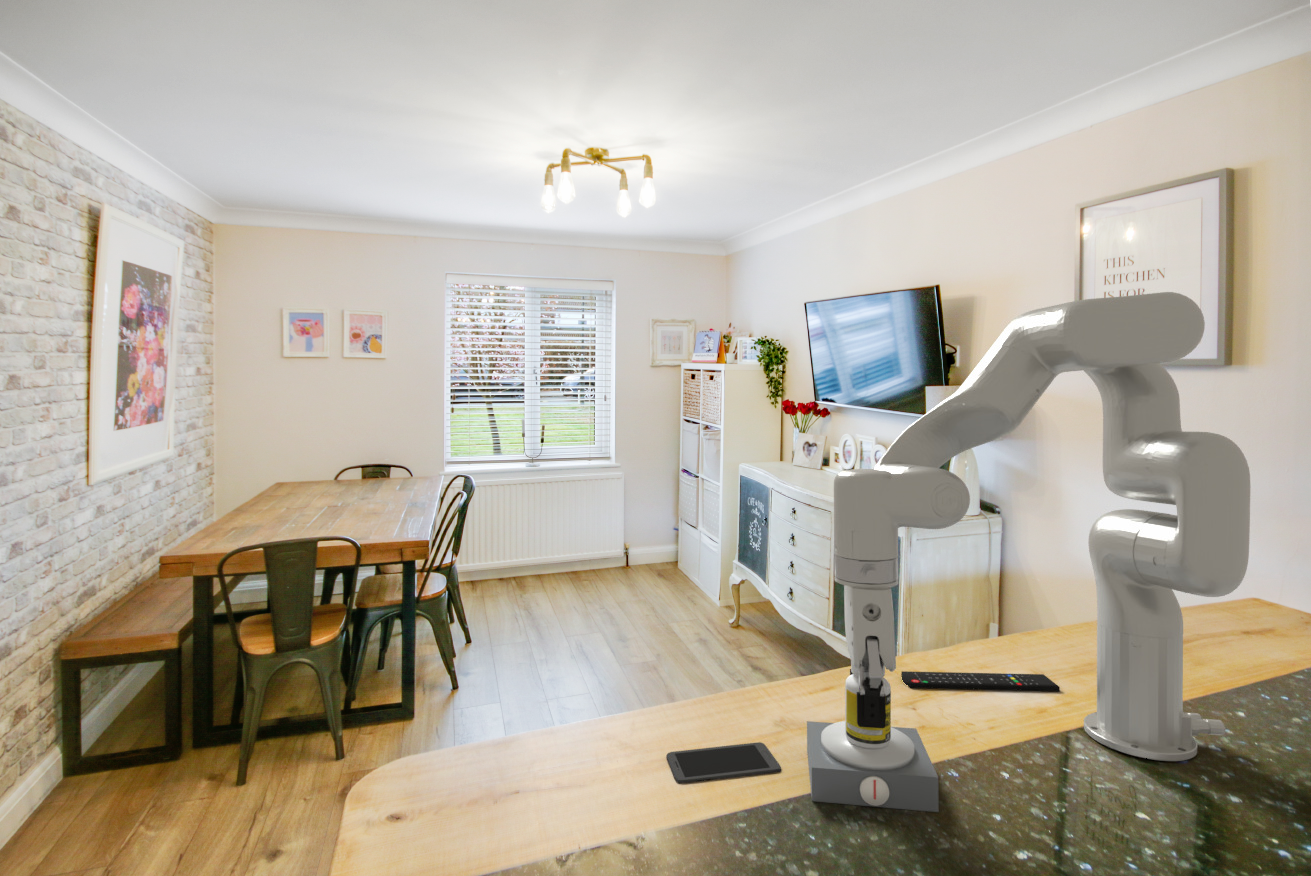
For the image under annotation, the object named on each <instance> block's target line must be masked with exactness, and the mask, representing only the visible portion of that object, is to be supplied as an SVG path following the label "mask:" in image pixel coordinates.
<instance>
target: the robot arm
mask: <svg viewBox="0 0 1311 876" xmlns="http://www.w3.org/2000/svg"><path fill="white" fill-rule="evenodd" d="M1205 323H1206V322H1205V317H1204V314H1203V311H1202V309H1201V308H1200V306H1199V305H1198V304H1197V303H1196V302H1195V301H1194V300H1193V299H1192V298H1190V297H1188V296H1187V295H1184V294H1182V293H1179V292H1173V291H1162V292H1153V293H1144V294H1143V293H1142V294H1134V295H1133V294H1132V295H1122V296H1113V297H1112V296H1111V297H1101V298H1100V297H1099V298H1098V297H1097V298H1086V299H1080V300H1075V301H1069V302H1065V303H1060V304H1054V305H1051V306H1047V307H1041V308H1037V309H1033V310H1028V311H1026V312H1024V313H1022V314H1020V315H1018V316H1017V317H1015V318H1014V319H1012V320H1011V322H1009V323H1008V325H1007V326H1006V327H1005V328H1004V329H1003V330H1002V332H1001V333H1000V335H999V336H998V337H997V339H995V341H994V342H993V344H991V346H990V348H988V350H987V351H986V352H985V354H984V355H983V357H982V358H981V359H980V361H978V362H977V364H976V366H975V367H974V368H973V370H972V371H971V372H970V373H969V375H967V377H966V379H964V381H963V382H962V383H961V385H960V386H959V387H958V389H956V390H955V392H953V393H952V394H951V395H950V396H948V397H947V398H945V399H944V400H942V401H941V402H940V403H938V404H936V405H935V406H934V407H933V408H931V409H930V410H929V411H928V412H926V413H925V414H924V415H922V416H921V417H920V418H918V419H917V420H916V421H914V422H913V423H912V424H910V425H909V426H908V427H907V428H906V429H905V430H903V431H902V432H901V434H900V435H898V436H897V438H896V439H894V441H892V443H891V444H890V445H889V447H888V448H887V449H886V451H885V452H884V454H883V455H882V456H881V457H880V458H879V460H878V462H877V463H876V464H875V465H874V467H873V469H872V468H854V469H844V470H841V471H839V472H838V473H837V474H836V475H835V478H834V480H833V533H834V534H833V540H834V541H833V544H834V546H833V547H834V549H833V552H834V553H833V554H834V559H833V562H834V563H833V564H834V567H833V569H834V570H833V571H834V573H833V574H834V582H835V583H838V584H840V585H841V586H843V588H844V589H843V598H844V599H843V600H844V607H843V608H844V611H843V612H844V630H845V631H844V632H845V640H846V647H847V651H848V655H849V659H850V662H851V661H852V664H853V666H854V667H855V668H856V669H857V670H858V677H859V692H857V724H858V726H859V727H869V728H885V726H886V697H885V691H884V678H885V675H884V676H883V663H884V665H885V670H888V671H889V672H894V671H895V670H896V668H897V663H896V662H897V660H896V657H897V656H896V642H895V641H896V637H895V635H896V634H895V619H894V616H895V615H894V606H893V603H894V601H893V595H892V594H893V593H892V589H891V588H894V587H896V586H898V585H899V528H903V527H904V528H916V529H925V530H942V529H947V528H949V527H952V526H954V525H956V524H957V523H959V522H960V521H961V520H963V518H964V517H965V516H966V515H967V513H968V510H969V508H970V503H971V495H970V491H969V489H968V486H967V485H966V483H965V481H963V479H962V478H960V477H959V476H958V475H956V474H955V473H953V472H951V471H949V470H947V469H944V468H941V467H942V466H943V465H945V464H946V463H947V462H948V461H950V460H951V459H953V458H955V457H956V456H958V455H960V454H961V453H964V452H966V451H969V450H970V449H974V448H975V447H979V446H982V445H985V444H988V443H991V442H994V441H996V440H997V439H1000V438H1003V437H1004V436H1007V435H1009V434H1010V433H1012V432H1014V431H1015V430H1017V428H1018V427H1019V426H1020V425H1021V424H1022V422H1023V421H1024V420H1025V418H1026V417H1027V416H1028V414H1029V413H1030V411H1031V410H1032V409H1033V407H1034V406H1035V404H1037V402H1038V400H1039V399H1041V397H1042V395H1044V393H1045V392H1046V390H1047V389H1048V387H1049V386H1050V385H1051V384H1052V382H1053V381H1054V380H1055V378H1056V377H1057V376H1058V375H1060V374H1063V373H1069V372H1078V371H1079V372H1080V371H1083V372H1084V373H1085V374H1087V376H1088V377H1089V379H1091V380H1092V381H1093V383H1094V385H1095V386H1096V387H1097V390H1098V392H1099V394H1100V399H1101V403H1102V475H1103V480H1104V484H1105V486H1106V487H1107V489H1108V490H1109V491H1110V492H1111V493H1112V494H1114V495H1116V496H1119V497H1121V498H1124V499H1128V500H1134V501H1141V502H1149V503H1155V504H1157V503H1158V504H1164V505H1170V506H1171V505H1172V506H1176V507H1175V508H1176V514H1177V515H1176V514H1170V513H1164V512H1157V511H1149V510H1144V509H1132V508H1131V509H1130V508H1124V509H1116V510H1112V511H1109V512H1106V513H1104V514H1102V515H1101V516H1100V517H1099V518H1098V519H1096V520H1095V522H1094V523H1093V524H1092V526H1091V528H1090V531H1089V534H1088V551H1089V552H1088V553H1089V556H1090V561H1091V566H1092V569H1093V573H1094V580H1095V587H1096V611H1097V612H1096V613H1097V614H1096V615H1097V617H1096V712H1092V713H1089V714H1087V715H1086V716H1085V717H1084V718H1083V729H1084V731H1085V732H1086V734H1087V735H1088V736H1089V737H1091V738H1092V739H1093V740H1095V741H1096V742H1098V743H1100V744H1101V745H1103V746H1106V747H1107V748H1110V749H1112V750H1115V751H1117V752H1120V753H1122V754H1127V755H1130V756H1133V757H1138V758H1141V759H1142V758H1143V759H1146V758H1147V759H1148V760H1154V761H1160V762H1161V761H1162V762H1182V761H1186V760H1191V759H1193V758H1194V757H1196V756H1197V754H1198V741H1196V739H1195V738H1194V737H1197V736H1198V735H1199V734H1206V735H1212V736H1224V735H1225V734H1226V727H1225V723H1224V722H1223V721H1222V720H1221V719H1213V718H1212V719H1210V718H1203V719H1202V716H1201V714H1200V713H1198V712H1196V713H1195V712H1185V711H1184V710H1183V709H1184V708H1183V707H1184V706H1183V705H1184V704H1183V701H1184V698H1183V697H1184V695H1183V693H1184V691H1183V689H1184V686H1183V683H1184V680H1183V679H1184V677H1183V676H1184V618H1183V617H1184V616H1183V612H1182V608H1181V606H1180V603H1179V600H1178V599H1177V596H1176V594H1175V592H1174V591H1177V592H1181V593H1185V594H1190V595H1195V596H1200V597H1205V598H1219V597H1225V596H1227V595H1230V594H1231V593H1233V592H1234V591H1235V590H1236V589H1238V587H1240V585H1241V584H1242V582H1243V581H1244V578H1245V576H1246V574H1247V569H1248V565H1249V559H1250V558H1249V557H1250V554H1249V553H1250V534H1251V533H1250V532H1251V531H1250V525H1251V522H1250V521H1251V474H1250V472H1251V471H1250V467H1249V464H1248V460H1247V458H1246V457H1245V454H1244V453H1243V451H1242V449H1241V448H1240V447H1239V445H1237V444H1236V443H1235V442H1234V441H1233V440H1231V439H1230V438H1228V437H1227V436H1224V435H1221V434H1218V433H1214V432H1210V431H1209V432H1207V431H1183V430H1182V422H1181V419H1182V418H1181V403H1180V394H1179V390H1178V387H1177V384H1176V382H1175V380H1174V378H1173V376H1172V375H1171V374H1170V373H1169V371H1168V370H1167V369H1166V368H1165V367H1164V366H1163V365H1162V364H1161V363H1172V362H1175V361H1179V360H1180V359H1183V358H1185V357H1187V356H1188V355H1189V354H1191V353H1192V352H1193V351H1194V350H1195V349H1196V348H1197V347H1198V345H1199V344H1200V342H1201V340H1202V339H1203V336H1204V332H1205V326H1206V325H1205ZM882 661H883V662H882ZM862 662H868V667H863V666H862ZM864 673H868V677H866V678H865V680H864ZM852 674H853V673H852V672H851V668H850V669H849V676H850V675H852Z"/></svg>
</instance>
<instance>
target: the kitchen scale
mask: <svg viewBox="0 0 1311 876" xmlns="http://www.w3.org/2000/svg"><path fill="white" fill-rule="evenodd" d="M806 752H807V754H806V755H807V764H808V775H809V783H810V785H809V786H810V793H811V794H810V795H811V801H812V802H816V803H817V802H818V803H827V804H829V803H830V804H841V805H842V804H843V805H851V806H852V805H853V806H862V807H873V808H874V807H876V808H886V809H897V810H910V811H920V812H921V811H922V812H929V813H930V812H931V813H939V812H940V811H939V776H938V773H937V771H936V768H935V767H934V765H933V763H932V760H931V757H930V756H929V754H928V752H927V749H926V747H925V745H924V743H923V741H922V738H921V736H920V734H919V731H918V729H917V728H913V727H899V726H891V739H890V743H889V744H888V745H887V746H886V747H883V748H878V749H869V748H863V747H859V746H857V745H855V744H853V743H851V742H850V741H849V740H848V739H847V738H846V735H845V720H842V721H836V722H823V721H809V720H808V721H807V720H806Z"/></svg>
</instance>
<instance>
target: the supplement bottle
mask: <svg viewBox="0 0 1311 876" xmlns="http://www.w3.org/2000/svg"><path fill="white" fill-rule="evenodd" d="M882 662H883V661H882ZM850 665H851V666H850V669H851V672H852V673H853V674H852V675H850V674H849V676H847V678H846V680H845V689H844V690H845V691H844V692H845V693H844V694H845V698H844V699H845V709H844V711H845V715H844V716H845V717H844V718H845V720H844V721H845V735H846V738H847V739H848V740H849V741H850V742H851V743H853V744H855V745H857V746H859V747H863V748H869V749H878V748H883V747H886V746H887V745H888V744H889V743H890V739H891V727H892V726H891V725H892V722H891V721H892V719H891V714H892V713H891V712H892V711H891V710H892V709H891V705H892V704H891V702H892V699H891V698H892V689H891V684H890V682H889V681H888V679H886V678H885V675H886V667H885V665H884V663H883V676H884V691H885V697H886V726H885V728H869V727H859V726H858V724H857V692H859V677H858V670H857V669H856V668H855V667H854V666H853V664H852V661H851V660H850ZM862 666H863V667H868V662H862ZM866 677H868V673H864V680H865V678H866Z"/></svg>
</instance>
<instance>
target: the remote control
mask: <svg viewBox="0 0 1311 876" xmlns="http://www.w3.org/2000/svg"><path fill="white" fill-rule="evenodd" d="M901 677H902V680H903V682H904V683H905V684H906V685H908V686H909V687H910V689H938V688H939V689H941V690H942V689H944V690H945V689H946V690H949V689H950V690H980V689H981V690H982V691H983V690H986V691H988V690H989V691H1028V692H1030V691H1031V692H1033V691H1034V692H1060V689H1061V687H1060V686H1059V685H1058V684H1057V683H1055V682H1054V681H1053V680H1051V679H1050V678H1049V677H1048V676H1046V675H1045V674H1043V673H1041V674H1039V673H1038V674H1037V673H997V672H995V673H993V672H992V673H991V672H989V673H988V672H987V673H986V672H949V671H948V672H945V671H944V672H943V671H941V672H940V671H908V670H907V671H906V670H905V671H903V670H902V671H901ZM901 677H900V678H901ZM902 680H901V681H902ZM903 682H902V683H903ZM904 683H903V684H904ZM905 684H904V685H905ZM906 685H905V686H906ZM909 687H908V688H909ZM939 689H938V690H939Z"/></svg>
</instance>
